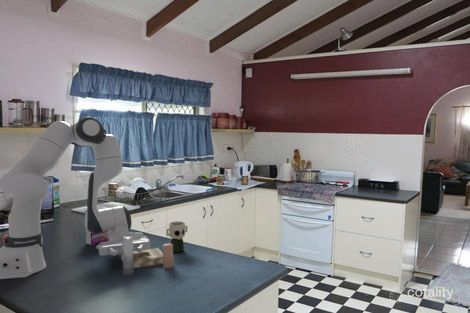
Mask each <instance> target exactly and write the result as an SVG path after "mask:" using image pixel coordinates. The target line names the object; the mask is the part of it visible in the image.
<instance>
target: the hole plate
mask: <svg viewBox="0 0 470 313" xmlns="http://www.w3.org/2000/svg"><path fill="white" fill-rule="evenodd" d="M120 256H121V258H120V259H121V261H122V263H123V253H120ZM133 261H134V269H137V268H143V267H150V266H157V265H162V264H163V251H162V250H161V249H160V248H159V247H154V248H150V249H148V250H142V252H138V251H133Z"/></svg>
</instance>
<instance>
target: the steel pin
mask: <svg viewBox="0 0 470 313" xmlns="http://www.w3.org/2000/svg"><path fill="white" fill-rule="evenodd" d="M122 242H123V262H122V274H123V275H124V276H129V275H133V274H134V270H135V268H134V261H133V237H132V236H126V237H123V238H122Z"/></svg>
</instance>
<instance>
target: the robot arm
mask: <svg viewBox="0 0 470 313" xmlns="http://www.w3.org/2000/svg"><path fill="white" fill-rule="evenodd" d="M70 145H74V146H77V147H80V148H85V147H89V146H90V147H91V148H92V150H93V152H94V156H95V157H94V158H95V167H94V170H93V171H92V172H91V173H90V174H89V176H88V177H89V179H88V187H87V205H86V211H87V214H86V218H85V217H84V224H85V226H86V227H85V226H84V227H85V230H86V229H87V230H88V231H89V232H91V233H93V234H97V233H101V232H104V231H108V240H109V241H106V242H101V243H99V244H96V246H95V247H96V249H98V254H99V256H110V255H111V256H113V257H115V256H116V257H117V256H118V255H119V254H121V253H123V242H122V238H123V237H126V236H132V237H133V251H138V252H142V250H148V249H151V240H150V239H149V237H147V236H146V235H144V233H143V232H134V231H133V232H132V231H130V230H131V228H132V217H131V216H132V215H131V213H130V211H129V210H128V208H127V207H125V206H124V205H119V206H112V207H107V208H106V209H97V208H98V196H99V195H98V194H99V193H98V192H99V190H100V188H101V186H103V185H104V184H106V183H107V182H110V181H111V180H113V179H115V178H116V177H118V176H119V175H120V174H121V173H122V170H123V157H122V153H121V152H122V151H121V148H120V144H119V141H118V138H117V137H116V136H115V135H113V134H111V133H110V134H109V133H107V130H106V129H105V127H103V125H102V123H101V122H100V121H99V119H97V118H96V117H92V116H87V117H86V116H85V117H82V118H80V119H79V120H78V121H77V122H76V123H73V124H69V123H67V122H65V121H63V120H55V121H53V122H52V123H51V124H50V125H49V126H48V127H47V128H46V129H44V130H43V132H42V133H41V135H39V137H38V138H37V140H36V141H35V143H34V144H33V145H32V147H30V149H29V150H28V152H27V153H26V154H25V155H24V157H23V158H21V159H20V160H19V161H18V162H17V163H16V164H15V165H14V166H13V167H12V168H11V169H9V171H7V172H6V173H4V174H3V175H2V176H1V177H0V190H1V191H2V192H3V193H4V195H6V196H8V197H9V198H12V205H11V209H10V212H9V213H8V217H7V219H8V220H7V221H8V223H7V224H8V234H4V235H3V236H2V245H3V246H2V247H0V280H5V279H19V278H28V277H29V276H31V275H34V274H35V273H38V272H40V271H43V270H45V269H46V268H47V264H46V260H45V256H44V253H43V244H44V243H43V232H42V231H41V210H42V204H43V201H44V198H45V197H46V196H47V193H48V191H49V185H48V182H47V180H45V178H44V177H43V176H44V175H46V174H47V173H48V172H49V171H51V170H53V169H54V168H55V166H56V165H57V164H58V162H59V161H60V159H61V158H62V156H63V155H64V153H65V152H66V150H67V149H68V147H69V146H70Z"/></svg>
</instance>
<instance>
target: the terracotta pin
mask: <svg viewBox="0 0 470 313" xmlns="http://www.w3.org/2000/svg"><path fill="white" fill-rule="evenodd" d="M162 253H163V268H164V269H172V268H173V267H174V252H173V244H171V242H170V243H164V244H162Z"/></svg>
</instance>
